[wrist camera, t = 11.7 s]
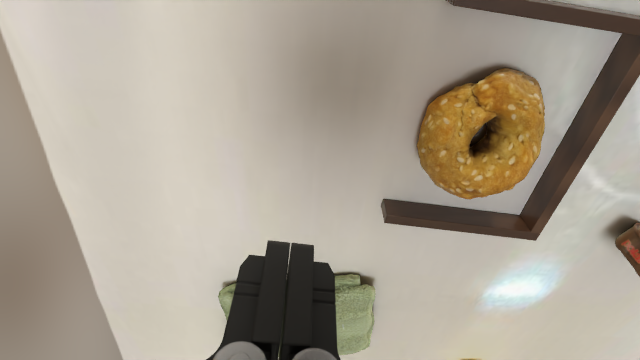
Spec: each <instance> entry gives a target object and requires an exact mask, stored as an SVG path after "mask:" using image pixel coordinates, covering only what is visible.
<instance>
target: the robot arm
mask: <svg viewBox="0 0 640 360" xmlns="http://www.w3.org/2000/svg"><path fill="white" fill-rule="evenodd" d="M289 248H290V243H288V242H279V241H269V240H268V243H267V249H266V255H265V256H255V255H249V256H248V257H247V259H246V260H245V261H244V262H243V264H242V265H241V266H240V269H239V273H238V278H237V283H236V286H235V290H234V295H233V299H232V303H231V307H230V312H229V316H228V320H227V324H226V329H225V333H224V337H223V340H222V343H221V345H220V347H219V348H218V350H217V351H216V352H215V353H214V354H213V355H212V356H211V357H209V358H208V359H206V360H340V357H339V354H338V349H337V324H336V305H335V303H336V296H335V276H334V274H333V272H332V270H331V268H330V266H329V264H328V263H322V262H314V245H307V244H298V243H292V245H291V252H290V259H289ZM288 259H289V266H288ZM287 269H288V273H287ZM286 279H287V280H286ZM279 348H280V349H279ZM278 354H279V359H278Z"/></svg>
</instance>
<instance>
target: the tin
mask: <svg viewBox="0 0 640 360" xmlns="http://www.w3.org/2000/svg"><path fill="white" fill-rule="evenodd" d="M615 243H616V247H617V248H618V249H619V250H620V251H621V252H622V253H623V255H624V256H625V257H626V259H627V260H628V261H629V262H630V264H631V265H632V266H633V268H634V269H635V271H636V272H637V274H638V275H639V276H640V223H636V224H634V226H633V227H632V228H630V229H629V230H627V231H626V232H624V233H623V234H621V235H620V236H619V237H617V239H616V241H615Z"/></svg>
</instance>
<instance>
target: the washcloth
mask: <svg viewBox="0 0 640 360" xmlns="http://www.w3.org/2000/svg"><path fill="white" fill-rule="evenodd" d="M235 286H236V284H231V285H230V286H227V287H225V288H223V289H222V290H221V291H220V292H219V296H218V297H219V301H220V304H221V306H222V308H223V311H224V313H225V316H226V320H228V316H229V312H230V307H231V303H232V299H233V295H234V290H235ZM335 296H336V303H335V305H336V324H337V349H338V354H339V355H346V354H353V353H356V352H359V351H361V350H364V349H366V348H367V347H369V345H370V337H371V333H372V330H373V325H374V315H373V313H372V306H373V301H374V299H375V288H374V287H373V286H369V285H367V284H363V285H361V283H360V276H359V275H353V274H349V275H340V276H335ZM279 349H280V348H279ZM278 357H279V354H278Z"/></svg>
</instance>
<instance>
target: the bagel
mask: <svg viewBox="0 0 640 360" xmlns="http://www.w3.org/2000/svg"><path fill="white" fill-rule="evenodd" d="M544 109H545V107H544V103H543V97H542V93H541V88H540V85H539V83H538V81H537V80H536V79H535V78H533V77H531V76H529V75H526V74H524V72H520V71H518V70H512V69H510V68H502V69H499V70H496V71H495V72H493V73H492V74H490V75H489V76H487V77H485V78H484V80H481V81H479V82H478V83H476V84H474V83H466V84H464V85H463V86H456V87H455V88H454V89H453V90H451V91H449V92H447V93H446V94H443V95H440V96H438V97H437V98H436V99H435V100H434V101H433V102H432V103H430V104H429V106H428V108H427V111H426V115H425V117H424V120H423V122H422V125H421V130H420V135H419V141H418V143H417V148H418V154H419V158H420V164H421V166H422V168H423V169H424V170H425V171H426V173H427V174H428V175H429V177H430V178H431V179H432V181H433V182H434V184H435V185H437V186H438V187H440V188H442V189H444V190H445V191H447V192H449V193H451V194H453V195H456V196H458V197H461V198H465V199H472V198H476V197H487V196H488V195H493V194H498V193H501V192H503V191H504V190H511V189H513V187H514V186H515V184H517V183H519V182H520V181H522V180H523V179H524V178H525V177H526V176H527V174H528V172H529V170H530V169H531V167H532V165H533V164H534V162H535V161H536V159H537V158H538V156H539V153H540V150H541V149H540V148H541V141H542V136H543V134H544V127H545V122H544V115H545V113H544ZM486 122H487V133H486V135H485V136H484V138H482V139H481V140H480V141H479V142H478V143H476V144H474V145H473V146H472V147H471V148H470V146H469V144H470V142H471V140H472V138H473V136H474V135H475V134H476V133H477V132H478V131H479V129H480V128H481V127H482V126H483V125H484V124H485V123H486Z"/></svg>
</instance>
